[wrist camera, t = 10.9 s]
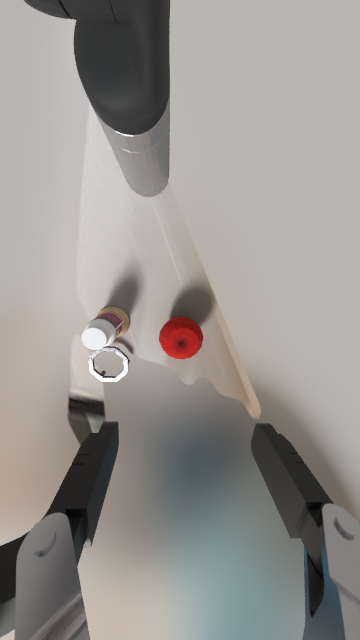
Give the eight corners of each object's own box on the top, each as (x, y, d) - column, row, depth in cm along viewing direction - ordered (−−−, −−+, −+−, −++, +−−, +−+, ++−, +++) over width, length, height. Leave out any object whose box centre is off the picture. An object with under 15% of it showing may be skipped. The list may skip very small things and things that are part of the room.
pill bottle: (96, 313, 42) (71, 327, 32) (120, 307, 42) (104, 319, 32) (104, 336, 44) (84, 356, 33) (128, 330, 44) (115, 349, 33)
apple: (154, 334, 45) (150, 353, 35) (172, 303, 43) (173, 314, 33) (186, 351, 47) (190, 373, 37) (204, 322, 45) (215, 337, 35)
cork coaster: (96, 305, 42) (95, 306, 42) (129, 307, 43) (128, 308, 42) (98, 336, 44) (97, 336, 44) (129, 337, 45) (129, 338, 44)
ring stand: (91, 343, 45) (87, 347, 43) (129, 344, 46) (127, 348, 43) (94, 375, 48) (90, 381, 45) (129, 376, 48) (127, 381, 46)
